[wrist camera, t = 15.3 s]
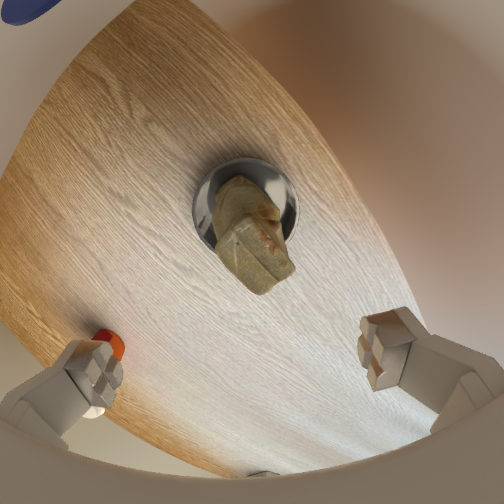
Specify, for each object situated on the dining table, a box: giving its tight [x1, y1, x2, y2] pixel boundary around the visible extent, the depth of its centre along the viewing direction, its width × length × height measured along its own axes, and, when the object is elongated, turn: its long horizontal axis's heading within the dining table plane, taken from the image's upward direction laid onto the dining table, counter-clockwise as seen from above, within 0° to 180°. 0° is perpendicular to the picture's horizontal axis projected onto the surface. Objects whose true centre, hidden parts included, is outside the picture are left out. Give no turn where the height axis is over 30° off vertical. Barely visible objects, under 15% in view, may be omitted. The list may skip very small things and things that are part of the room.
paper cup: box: [83, 330, 125, 418], centre depth 32 cm, size 8×8×14 cm
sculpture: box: [212, 175, 296, 295], centre depth 23 cm, size 6×7×15 cm
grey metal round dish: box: [192, 157, 300, 255], centre depth 29 cm, size 11×11×4 cm
